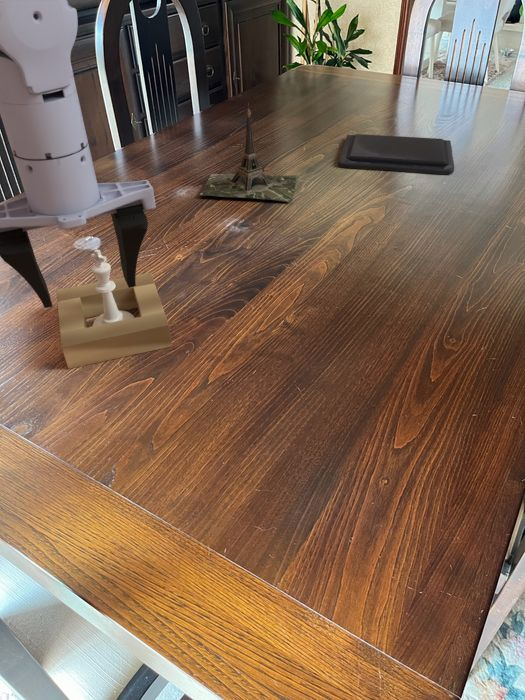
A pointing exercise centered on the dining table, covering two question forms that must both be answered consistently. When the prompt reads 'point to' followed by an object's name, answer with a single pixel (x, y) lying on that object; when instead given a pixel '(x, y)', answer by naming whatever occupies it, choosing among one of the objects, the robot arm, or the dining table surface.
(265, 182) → the eiffel tower figurine
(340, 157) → the black flat block
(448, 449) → the dining table surface
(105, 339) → the socket
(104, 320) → the chess piece
